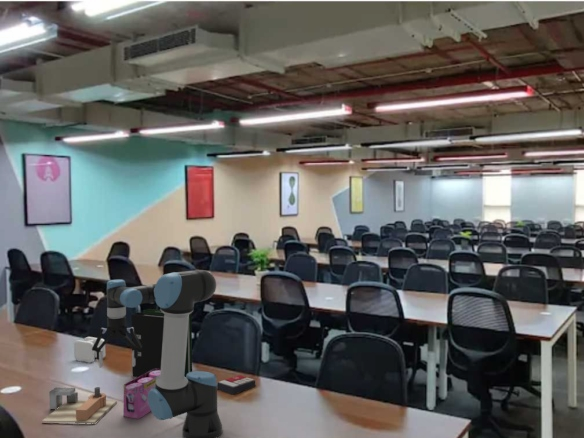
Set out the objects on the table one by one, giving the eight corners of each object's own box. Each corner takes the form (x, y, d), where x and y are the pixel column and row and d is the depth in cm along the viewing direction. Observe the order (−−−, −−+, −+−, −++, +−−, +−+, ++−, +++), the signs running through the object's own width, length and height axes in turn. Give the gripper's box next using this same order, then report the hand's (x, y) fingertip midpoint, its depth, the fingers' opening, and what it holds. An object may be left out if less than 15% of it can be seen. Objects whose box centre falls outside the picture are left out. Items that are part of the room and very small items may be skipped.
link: (93, 402, 228) (93, 393, 228) (108, 402, 228) (107, 393, 228) (73, 419, 210) (73, 409, 210) (89, 419, 210) (89, 410, 210)
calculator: (255, 378, 251) (233, 386, 240) (255, 387, 251) (233, 395, 240) (239, 374, 258) (217, 380, 247) (239, 382, 258) (216, 390, 247)
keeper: (70, 410, 223) (69, 392, 223) (49, 410, 224) (49, 391, 223) (77, 404, 230) (77, 386, 230) (58, 403, 231) (57, 385, 230)
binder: (193, 374, 268) (192, 312, 267) (176, 383, 255) (175, 319, 254) (150, 368, 279) (149, 308, 278) (131, 376, 265) (130, 314, 264)
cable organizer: (72, 360, 294) (72, 340, 293) (87, 355, 303) (87, 335, 303) (92, 364, 287) (91, 343, 287) (106, 358, 296) (106, 338, 296)
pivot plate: (94, 424, 209) (94, 402, 208) (41, 423, 210) (41, 401, 210) (116, 403, 231) (116, 383, 230) (68, 402, 232) (68, 382, 232)
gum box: (136, 420, 212) (136, 387, 212) (120, 418, 215) (120, 385, 215) (170, 399, 235) (169, 369, 234) (155, 397, 238) (154, 367, 237)
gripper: (148, 314, 224) (149, 362, 225) (89, 315, 222) (90, 364, 223) (144, 318, 217) (145, 368, 218) (83, 319, 215) (84, 369, 216)
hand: (117, 366), depth 220 cm, fingers open, 13 cm apart
